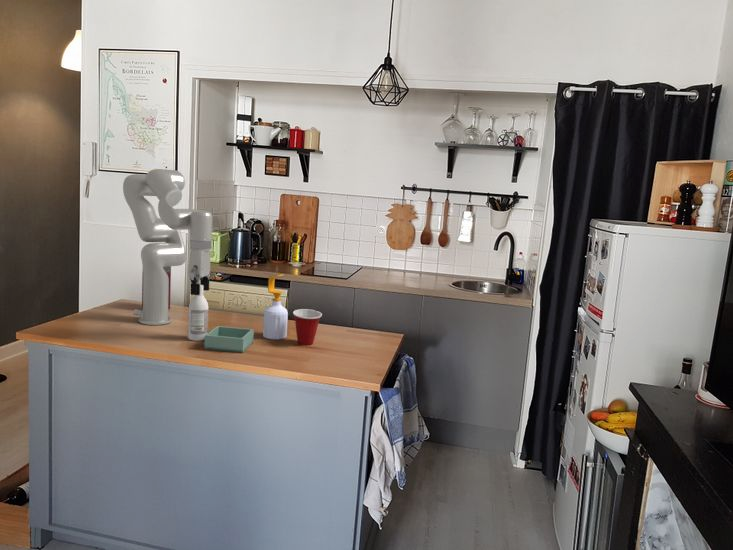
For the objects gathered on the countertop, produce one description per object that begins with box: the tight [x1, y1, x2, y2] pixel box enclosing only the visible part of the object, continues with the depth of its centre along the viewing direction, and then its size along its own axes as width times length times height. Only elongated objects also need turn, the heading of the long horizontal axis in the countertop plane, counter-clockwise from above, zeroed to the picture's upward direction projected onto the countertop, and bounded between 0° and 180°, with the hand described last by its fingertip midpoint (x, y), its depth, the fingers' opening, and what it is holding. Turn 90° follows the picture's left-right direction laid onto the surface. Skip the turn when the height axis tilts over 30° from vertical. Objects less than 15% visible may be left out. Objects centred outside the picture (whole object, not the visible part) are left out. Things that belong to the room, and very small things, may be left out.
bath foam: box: [187, 285, 209, 342], centre depth 212 cm, size 7×7×20 cm
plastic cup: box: [292, 308, 323, 346], centre depth 217 cm, size 11×11×12 cm
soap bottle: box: [262, 273, 289, 341], centre depth 222 cm, size 9×9×25 cm
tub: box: [203, 325, 255, 354], centre depth 208 cm, size 14×14×5 cm
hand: (200, 292), depth 211 cm, fingers open, 9 cm apart
